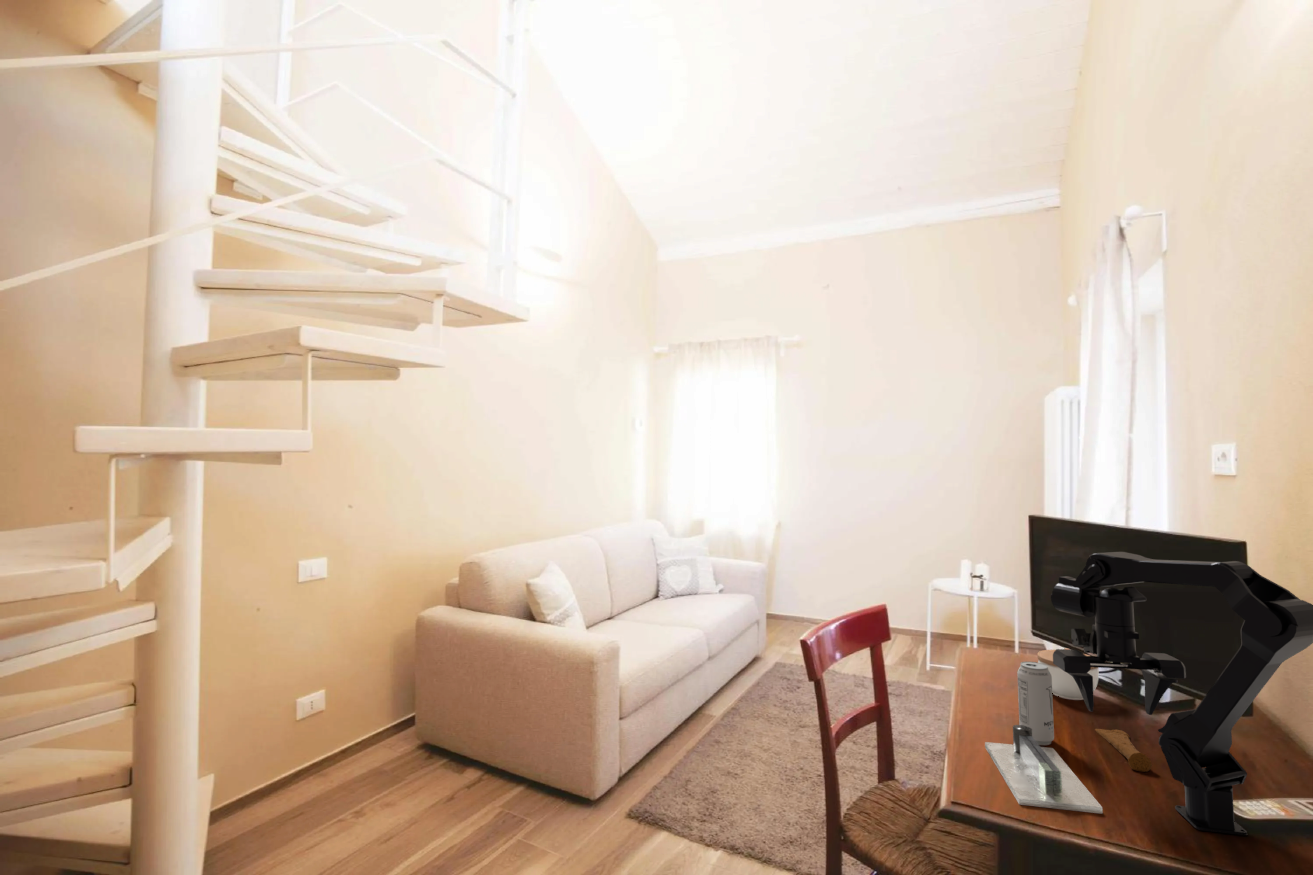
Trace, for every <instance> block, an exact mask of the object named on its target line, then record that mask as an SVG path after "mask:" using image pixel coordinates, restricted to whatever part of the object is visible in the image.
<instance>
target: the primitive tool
mask: <svg viewBox="0 0 1313 875" xmlns="http://www.w3.org/2000/svg"><path fill="white" fill-rule="evenodd" d="M1094 731H1095V732H1096V733H1097V734H1098V735H1099V736H1100V737H1102V738H1103V739H1105V741H1106V742H1108V743H1109V744H1110V745H1111V746H1113V747H1114V749H1115V750H1117V751H1118V753H1120V754H1121V755H1122V756H1124V758H1126V759H1127V762H1128V766H1129V767H1130V768H1131V769H1132V770H1134V771H1138V772H1142V773H1143V772H1144V773H1145V772H1147V773H1148V772H1149V771H1151V769H1152V767H1153V764H1152V761H1151V759H1150V758H1149V757H1148V755H1146V754H1145V753H1143V752H1140V751H1139V750H1138V749H1136V747H1135V745H1134V744H1133V743H1132V742H1131V739H1130V738H1131V737H1130V735H1129V733H1127V732H1125V731H1123V730H1122V729H1120V730H1119V729H1104V728H1102V729H1101V728H1095V729H1094Z"/></svg>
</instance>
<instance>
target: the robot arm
mask: <svg viewBox="0 0 1313 875" xmlns="http://www.w3.org/2000/svg"><path fill="white" fill-rule="evenodd" d="M1139 583H1154V584H1155V583H1157V584H1171V585H1183V586H1195V587H1196V586H1197V587H1210V588H1216V589H1217V591H1219V592H1220V593H1221V594H1222V595H1223V597H1224V599H1225V600H1226V602H1227V604H1228V605H1229V607H1230V608H1231V610H1232V611H1233V612H1234V613H1235V614H1237V615H1238V616H1239V617H1240V618H1241V619H1242V620H1243V622H1242V625H1241V628H1240V639H1241V640H1240V641H1241V644H1240V647H1239V648H1238V650H1237V651H1236V652H1235V653H1234V655H1233V656H1232V658H1231V660H1230V661H1229V662H1228V664H1227V665H1226V666H1225V668H1224V669H1223V670H1222V672H1221V673H1220V675H1219V676H1218V678H1217V679H1216V680H1215V682H1214V683H1213V685H1211V687H1210V689H1209V690H1208V692H1206V694H1205V696H1204V697H1203V698H1202V699H1201V702H1200V703H1199V704H1198V705H1197V707H1196V708H1194V709H1190V710H1189V709H1188V710H1184V711H1177V712H1172V713H1170V714H1169V715H1168V717H1167V720H1166V723H1165V725H1163V727H1161V728H1159V729H1157V731H1158V732H1159V733H1161V734H1160V736H1159V738H1158V746H1160V749H1161V751H1162V753H1163V756H1164V758H1165V761H1166V763H1167V767H1168V769H1169V771H1170V773H1171V777H1172V779H1173V780H1174V781H1175V780H1176V781H1177V782H1179V783H1181V784H1182V785H1183V786H1184V800H1185V801H1184V802H1185V805H1175V806H1174V809H1175V810H1176V811H1177V812H1178V813H1179V814H1180V815H1181V816H1182V817H1183V818H1185V820H1187V822H1188V823H1190V825H1192V826H1193V827H1194V828H1195V829H1196V830H1199V831H1203V832H1204V831H1205V832H1211V833H1212V832H1213V833H1220V834H1229V835H1231V834H1232V835H1238V836H1239V835H1240V836H1247V835H1248V831H1247V830H1246V829H1245V828H1243V826H1241V825H1240V823H1237V821H1235V810H1234V809H1235V808H1234V806H1235V805H1234V790H1233V789H1234V788H1233V786H1236V785H1244V782H1245V781H1246V778H1247V775H1248V773H1247V771H1246V770H1245V768H1243V766H1242V765H1241V764H1240V763H1239V762H1238V760H1237V759H1236V758H1235V757H1234V756H1233V755H1232V753H1231V752H1230V750H1231V747H1232V745H1233V736H1232V735H1233V734H1232V730H1233V727H1234V726H1235V725H1236V724H1237V722H1239V721H1240V718H1241V717H1242V716H1243V714H1245V712H1246V711H1247V709H1248V708H1249V707H1250V705H1251V704H1252V703H1253V702H1254V700H1255V699H1256V697H1257V696H1258V695H1259V694H1260V692H1261V691H1262V690H1263V689H1264V687H1265V686H1266V685H1267V683H1268V682H1269V681H1270V680H1271V678H1272V677H1273V675H1275V673H1276V672H1277V670H1278V669H1279V668H1280V667H1281V665H1282V663H1284V662H1285V661H1287V660H1288V659H1290V658H1292V657H1293V656H1295V655H1297V654H1299V653H1300V652H1302V651H1304V650H1305V649H1307V648H1308V647H1310V646H1311V645H1313V604H1312V603H1310V602H1308V601H1306V600H1303V599H1301V598H1299V597H1298V596H1296V594H1294V593H1293V592H1292V591H1290V590H1288V589H1287V588H1285V587H1283V586H1282V585H1280V584H1278V583H1275V582H1274V581H1272V580H1271V579H1268V578H1267V577H1265V576H1263V575H1261V574H1259V573H1258V572H1257V571H1256V570H1255V569H1253V568H1252V566H1249V565H1248V564H1246V563H1244V562H1242V561H1238V560H1237V561H1236V560H1232V561H1231V560H1230V561H1202V560H1200V561H1199V560H1175V559H1174V560H1173V559H1170V560H1169V559H1154V558H1153V559H1152V558H1149V557H1146V556H1143V555H1140V554H1136V553H1131V552H1127V551H1110V552H1097V553H1091V554H1089V556H1088V558H1087V560H1086V563H1085V566H1084V568H1083V569H1082V570H1081V572H1080V573H1079V575H1078V576H1077V577H1076V578H1074V577H1072V576H1066V575H1065V576H1059V577H1058V583H1056V584H1055V586H1054V587H1053V589H1052V590H1051V591H1052V593H1051V594H1050V601H1051V604H1052V606H1053V607H1054V608H1055V610H1057V611H1059V612H1063V613H1067V614H1071V615H1076V616H1081V617H1085V618H1092V617H1094V624H1092V626H1091V632H1087V630H1086V629H1085V628H1078V627H1077V628H1075V627H1074V628H1071V629H1070V633H1071V634H1070V635H1071V642H1072V643H1071V644H1072V645H1073V646H1074V647H1077V648H1078V647H1081V648H1082V647H1083V652H1084V653H1083V652H1081V651H1079V650H1078V649H1070V650H1067V649H1063V648H1061V649H1059V648H1056V649H1054V650H1055V652H1054V653H1053V664H1055V665H1056V666H1057V667H1059V668H1060V669H1062V670H1063V671H1064V672H1067V673H1068V674H1069V675H1071V676H1072V677H1073V678H1074V680H1075V682H1076V683H1077V685H1078V687H1079V690H1080V692H1081V694H1082V697H1083V699H1084V700H1083V701H1084V705H1085V706H1086V708H1087V710H1088V711H1089V712H1094V705H1095V704H1094V703H1095V701H1094V691H1093V676H1092V675H1090V674H1089V673H1088V671H1090V670H1091V667H1098V668H1101V669H1103V668H1104V669H1122V670H1123V669H1126V670H1140V671H1141V673H1142V676H1143V680H1144V707H1145V708H1144V709H1145V713H1146V714H1147V715H1148V716H1152V715H1153V714H1154V712H1155V709H1156V708H1157V707H1158V705H1159V702H1160V701H1161V700H1162V697H1163V696H1164V694H1165V693H1166V692H1167V691H1168V690H1169V688H1170V687H1171V685H1172V684H1177V683H1178V679H1186V678H1187V671H1186V670H1187V669H1186V666H1185V664H1184V663H1183V662H1182V661H1181V660H1180V659H1177V658H1175V657H1174V656H1171V655H1169V654H1167V653H1164V652H1162V653H1161V652H1144V653H1143V654H1142V656H1141V657H1140V656H1138V655H1137V647H1136V640H1140V635H1139V634H1140V633H1139V632H1137V631H1136V630H1135V629H1136V628H1135V626H1136V625H1135V611H1134V603H1136V602H1137V603H1139V602H1146V601H1147V597H1146V596H1145V595H1144V594H1143V593H1141V592H1139V591H1138V590H1137V588H1136V587H1135V586H1125V587H1123V588H1122V589H1121V588H1118V587H1117V588H1116V587H1115V586H1119V585H1129V584H1139ZM1101 588H1104V589H1103V590H1101ZM1086 653H1088V654H1092V655H1089V656H1086V655H1087V654H1086ZM1084 654H1086V655H1084ZM1095 655H1096V656H1095ZM1234 821H1235V822H1234Z"/></svg>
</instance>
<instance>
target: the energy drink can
mask: <svg viewBox="0 0 1313 875" xmlns="http://www.w3.org/2000/svg"><path fill="white" fill-rule="evenodd" d="M1016 674H1017V675H1016V676H1017V695H1018V696H1017V699H1018V725H1024V726H1027V727H1030V728H1031V729H1032V737H1033V738H1034V739H1035V741H1036V742H1037V743H1038V744H1039V746H1049V745H1051V744H1052V741H1054V740H1055V728H1054V725H1055V724H1054V704H1053V703H1054V702H1053V701H1054V700H1053V694H1052V676H1051V674H1050V672H1049V670H1048V666H1047V665H1045V664H1042V663H1038V661H1037V662H1036V661H1022V662H1020V666H1019V668H1018V670H1017V673H1016Z"/></svg>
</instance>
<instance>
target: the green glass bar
mask: <svg viewBox="0 0 1313 875" xmlns="http://www.w3.org/2000/svg"><path fill="white" fill-rule="evenodd" d="M1026 738H1027V739H1028V740H1029V741H1030V743H1031V744H1032V745H1033V747H1034V748H1035V749H1036V751H1037V752H1038V753H1039V754H1040V756H1041V757H1042V758H1043V760H1044V761H1045V762H1046V763H1047V764H1048V766H1049V767H1050V768H1051V769H1052V771H1053V792H1056V793H1062V778H1061V771H1060V769H1059V768H1058V767H1057V766H1056V764H1054V763H1053V762H1052V761H1051V760H1050V758H1049V757H1048V756H1047V755H1046V753H1045V752H1044V751H1043V750H1042V748H1041V747H1042V746H1041V745H1039V744H1038V743H1037V742H1036V741H1035V739H1034V738H1033V737H1032V736H1028V735H1026Z"/></svg>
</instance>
